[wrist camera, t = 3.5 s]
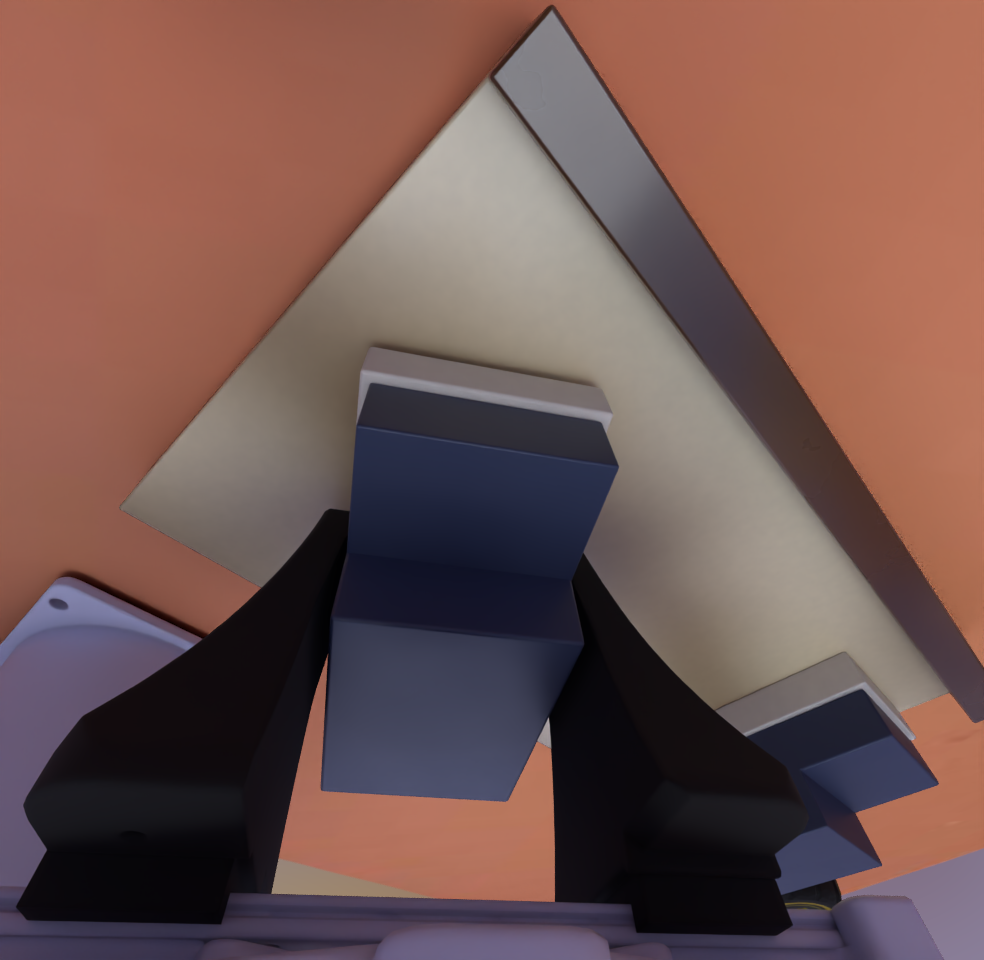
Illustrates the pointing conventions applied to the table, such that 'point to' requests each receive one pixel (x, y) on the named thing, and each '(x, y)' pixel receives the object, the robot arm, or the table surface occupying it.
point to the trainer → (458, 574)
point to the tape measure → (814, 897)
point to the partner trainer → (832, 762)
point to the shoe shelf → (587, 361)
